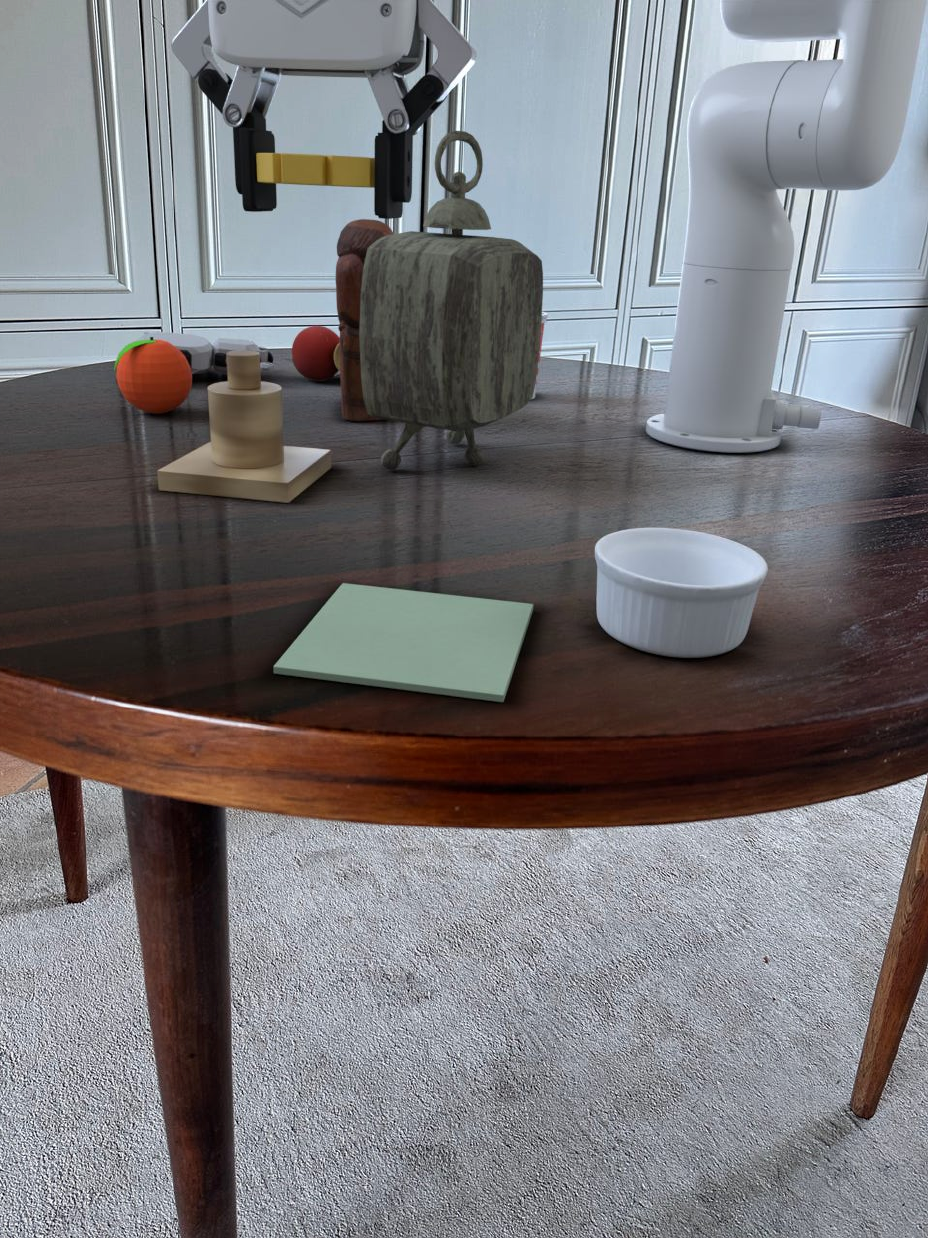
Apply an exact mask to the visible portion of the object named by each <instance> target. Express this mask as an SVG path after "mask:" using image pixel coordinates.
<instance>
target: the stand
mask: <svg viewBox="0 0 928 1238" xmlns="http://www.w3.org/2000/svg"><path fill="white" fill-rule="evenodd" d="M226 356H227V374H228V375H227V380H226V381H220V382H215V383H212V384H210V385H208V386H207V388H206V389H207V402H208V403H207V404H208V405H207V406H208V417H209V418H208V419H209V433H210V441H208V442H206V443H204V444H202V445H201V446H199V447H198V448H196V449H194V450H191V452H189V453H187V454H185V455H183V456H181V457H179V458H178V459H176V460H174V461H172V462H170V463H169V464H167V465H164V466H163V467H161V468H158V470H157V471H156V472H157V473H156V474H157V485H158V490H159V491H163V492H172V493H174V492H175V493H183V494H194V495H205V496H213V497H223V498H232V499H233V498H234V499H243V500H244V499H245V500H255V501H263V502H275V503H287V504H289V503H290V502H291V501H293V500H294V499H295V498H297V497H298V496H299V495H300V494H301V493H303V492H304V491H305V490H306V489H307V488H308V487H310V486H311V485H312V484H313V483H315V482H316V481H318V480H319V478H321V477H322V476H324V474H326V473H327V472H328V471H329V470H330V469H332V450H331V449H325V448H315V447H314V448H313V447H303V446H294V445H293V446H292V445H291V446H290V445H284V444H285V443H284V442H285V441H284V414H283V410H284V409H283V388H282V386H281V385H280V384H277V383H275V382H274V383H273V382H269V381H262V372H261V368H260V353H259V352H256V351H248V350H237V351H230V352H227V354H226Z"/></svg>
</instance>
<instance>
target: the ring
mask: <svg viewBox="0 0 928 1238" xmlns="http://www.w3.org/2000/svg"><path fill="white" fill-rule="evenodd" d="M256 158H257V181H258V182H260V183H276V185H277V184H279V185H280V184H281V185H298V186H299V185H300V186H320V187H322V186H323V187H325V186H326V187H342V188H343V187H344V188H367V189H368V188H370V189H372V188H373V189H374V167H375V157H367V156H351V155H334V154H333V155H330V154H329V155H328V154H327V155H326V154H309V153H287V152H286V153H285V152H282V153H281V152H280V153H279V152H275V153H257V154H256Z"/></svg>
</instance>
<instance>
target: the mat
mask: <svg viewBox="0 0 928 1238" xmlns="http://www.w3.org/2000/svg"><path fill="white" fill-rule="evenodd" d="M533 612H534V603H528V602H520V601H519V602H518V601H509V600H501V599H500V600H499V599H490V598H483V597H472V596H463V595H456V594H455V595H454V594H445V593H437V592H436V593H435V592H428V591H427V592H426V591H419V590H418V591H417V590H409V589H400V588H393V587H384V586H383V587H381V586H375V585H373V586H372V585H363V584H355V583H345V582H342V583H341V585H340V586H339V587H338V588H337V589H336V590H335V592H334V593H333V594H332V595H331V597H330V598H328V600H327V601H326V602H325V604H324V605H323V606H322V607H321V609H320V610H319V611H318V612H317V613H316V615H315V616H314V617H313V618H312V619H311V620H310V621H309V623H308V624H307V625H306V627H305V628H304V629H303V630H302V631H301V633H300V634H299V635H298V636H297V638H296V639H294V641H293V642H292V643H291V645H290V646H289V647H288V648H287V650H286V651H285V652H284V653H283V654H282V655H281V657H280V658H279V659H278V660H277V661H276V662H275V664H274V665H273V674H274V675H275V674H276V675H283V676H292V677H297V678H299V677H300V678H306V679H315V680H322V681H330V682H338V683H346V684H354V685H363V686H370V687H377V688H378V687H379V688H386V689H393V690H394V689H395V690H401V691H408V692H417V693H426V694H433V695H440V696H447V697H448V696H449V697H458V698H465V699H474V700H482V701H488V702H497V703H504V702H505V698H506V695H507V692H508V690H509V686H510V683H511V680H512V677H513V674H514V670H515V667H516V664H517V661H518V658H519V655H520V652H521V649H522V646H523V643H524V639H525V636H526V634H527V630H528V627H529V624H530V621H531V618H532V615H533Z"/></svg>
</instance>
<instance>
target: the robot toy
mask: <svg viewBox="0 0 928 1238" xmlns="http://www.w3.org/2000/svg"><path fill="white" fill-rule="evenodd" d="M150 337H153V340H163V341H167V342H169V343H171V344H172V345H174V346H175V347H176V348H178V349H179V350H180V351H181V352H182V353H183V355H184V356H185V357H186V359H187V361H188V363H189V365H190V368H191V373H192V375H199V374H203V373H205V372H208V371H209V370H210V369H211V368H213V369H214V371H215V372H216V373H217V374H218V375H225V376H228V374H227V356H226V354H227V352H230V351H237V350H248V351H256V352H259V353H260V368H261V373H264V372H270V371H273V370H275V365H274V355H273V354H272V353H271V352H270V350H268V348H267V347H265V346H258V345H257V344H256V343H255V342H254V341H253V340H250V339H249V340H248V339H241V338H222V337H219V338H217V339H216V340H215V341H214V342H213V344H212V343H211V342H210V341H209V339H207V338H205V337H204V336H201V335H197V334H190V333H180V332H179V333H178V332H169V331H168V332H166V331H154V332H151V331H150V332H148V331H146V332H145V331H144V332H143V334H142V335H141V336H140V337H139V338H138V339H136V341H140V340H148V339H150Z"/></svg>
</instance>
